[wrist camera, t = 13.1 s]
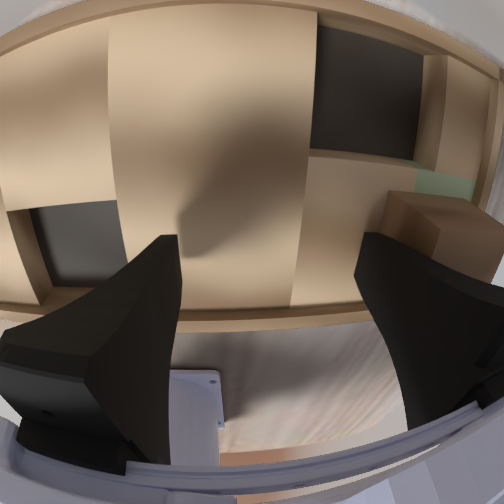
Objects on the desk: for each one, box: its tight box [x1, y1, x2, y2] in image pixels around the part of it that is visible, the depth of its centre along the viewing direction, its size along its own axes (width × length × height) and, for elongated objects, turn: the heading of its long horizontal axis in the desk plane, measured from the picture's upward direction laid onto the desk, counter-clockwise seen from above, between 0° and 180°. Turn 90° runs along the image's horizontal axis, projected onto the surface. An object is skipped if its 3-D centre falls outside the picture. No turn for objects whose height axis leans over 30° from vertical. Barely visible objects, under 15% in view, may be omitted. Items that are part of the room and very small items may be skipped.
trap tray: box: [0, 0, 504, 333], centre depth 10 cm, size 14×28×3 cm, turn 88°
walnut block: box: [379, 190, 504, 284], centre depth 11 cm, size 5×5×4 cm
